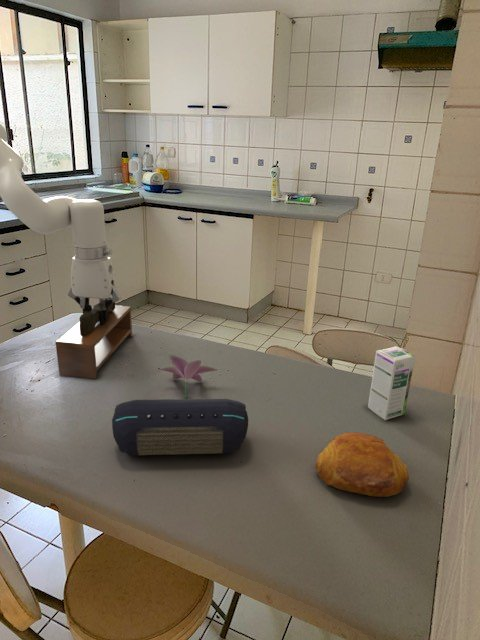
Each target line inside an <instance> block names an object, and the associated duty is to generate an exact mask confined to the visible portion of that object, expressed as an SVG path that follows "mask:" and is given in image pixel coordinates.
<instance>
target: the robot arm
mask: <svg viewBox="0 0 480 640" xmlns="http://www.w3.org/2000/svg"><path fill="white" fill-rule="evenodd" d="M7 142H8V133H7V131H6V128H5V126H4V124H3V123H2V122H1V121H0V198H1V200H2V202H3V204H4V205H5V207H6V208H7V209H8V210H9V212H11V213H12V214H13V216H15V217H16V218H17V219H18V220H20V222H22V224H24V225H25V226H26V227H28V228H29V229H30V230H32V231H33V232H35V233H38V234H41V235H51V234H55V233H57V232H58V231H62V230H67V229H68V228H69V229H70V228H71V232H72V233H71V234H72V242H73V244H72V245H73V252H74V256H73V257H72V260H71V268H70V269H71V270H70V284H71V287H70V289H69V291H68V293H67V296H68V297H69V298H71V299H72V300H74V301H75V302H76V303H77V304H78V305H79V308H80V309H82V314H83V313H85V312H90V311H91V310H92V309H93V308H92V305H91V304H90V299H98V301H99V303H100V306H101V309H100V310H99V317H100V324H101V325H103V324H105V323H106V322H107V320H108V318H109V317H108V307H109V306H110V305H111V304H112V303H114V302H115V303H116V302H119V301H120V300H121V298H122V297H121V295H120V294H119V292H118V290H117V282H116V275H115V269H114V265H113V260H112V258H111V257H110V255H113V250H112V249H111V248H109V247H108V245H107V237H106V235H107V234H106V224H105V209H104V204H103V203H102V202H101V201H100V200H97V199H89V198H88V199H77V198H73V197H69V196H64V195H60V196H59V195H58V196H54V197H48V198H45V199H42V197H40V195H38V194H37V193H36V192H35V191H33V189H31V187H29V186H28V184H27V183H26V182H25V180H24V179H23V177H22V175H21V172H22V171H23V169H24V164H25V163H24V159H23V157H22V156H21V154H19V153H18V152H17V151H16V150H14V149H13V148H12V147H11V146H10V145H9V144H8V143H7ZM111 296H112V297H111ZM110 297H111V298H110ZM108 298H110V299H108Z"/></svg>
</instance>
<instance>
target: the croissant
mask: <svg viewBox="0 0 480 640" xmlns="http://www.w3.org/2000/svg"><path fill="white" fill-rule="evenodd" d="M314 466H315V467H314V468H315V470H316V471H317V473H318V476H319V478H320V479H321V481H322V482H324V483H325V484H326V485H327V486H330V487H333V488H335V489H338V490H342V491H346V492H349V493H353V494H360V495H365V496H369V497H377V498H378V497H379V498H381V497H386V498H387V497H391V496H396V495H397V494H400V493H401V492H402V491H403V490H404V487H405V485H407V484H408V481H409V479H410V478H409V477H410V476H409V471H408V468H407V464H405V463H404V462H403V461H402V459H401V457H400V456H399V455H398V454H396V453H394V452H393V451H392V449H391V448H390V447H389V445H387V444H386V443H385V442H384V439H383V438H380V437H378V436H375V435H374V434H373V435H372V434H369V433H365V432H357V431H356V432H353V431H352V432H351V431H350V432H344V433H342V434H339V435H336V436H334V438H333V439H332V440H330V441H329V442H328V443H327V446H326V447H324V448H323V450H322V451H321V452H320V453H318V455H317V461H316V462H315V465H314Z"/></svg>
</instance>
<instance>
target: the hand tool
mask: <svg viewBox="0 0 480 640" xmlns="http://www.w3.org/2000/svg"><path fill="white" fill-rule="evenodd" d="M110 298H112V297H111V296H110ZM110 298H108V299H110ZM115 305H117V304H116V302H114V303H112V304H111V305H110V306H109V307H108V312H109V311H110V310H111V311H113V310H114V309H115V308H116V307H115ZM100 309H101V306H100V302H98V303H96V304H94V305H93V308H92V310H91V311H90V312H85V313H83V312H82V314H81V315H80V316H79V321H80V335H81V336H82V335H85V334H87V333H89V332H90V331H92V330H94V328H95V325H96V324H97V323H98V322H99V321H100V317H99V310H100Z"/></svg>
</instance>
